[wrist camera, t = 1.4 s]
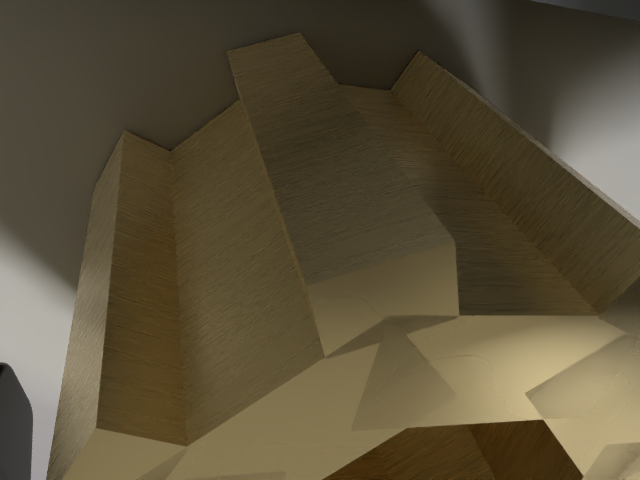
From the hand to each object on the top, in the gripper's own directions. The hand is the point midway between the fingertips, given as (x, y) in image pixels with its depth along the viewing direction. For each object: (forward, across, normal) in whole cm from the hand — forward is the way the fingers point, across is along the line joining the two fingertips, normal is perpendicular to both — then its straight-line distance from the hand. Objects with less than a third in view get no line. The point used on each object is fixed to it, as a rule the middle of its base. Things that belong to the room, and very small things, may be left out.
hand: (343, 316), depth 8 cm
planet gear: (+2, 0, 0) cm, 2 cm away
